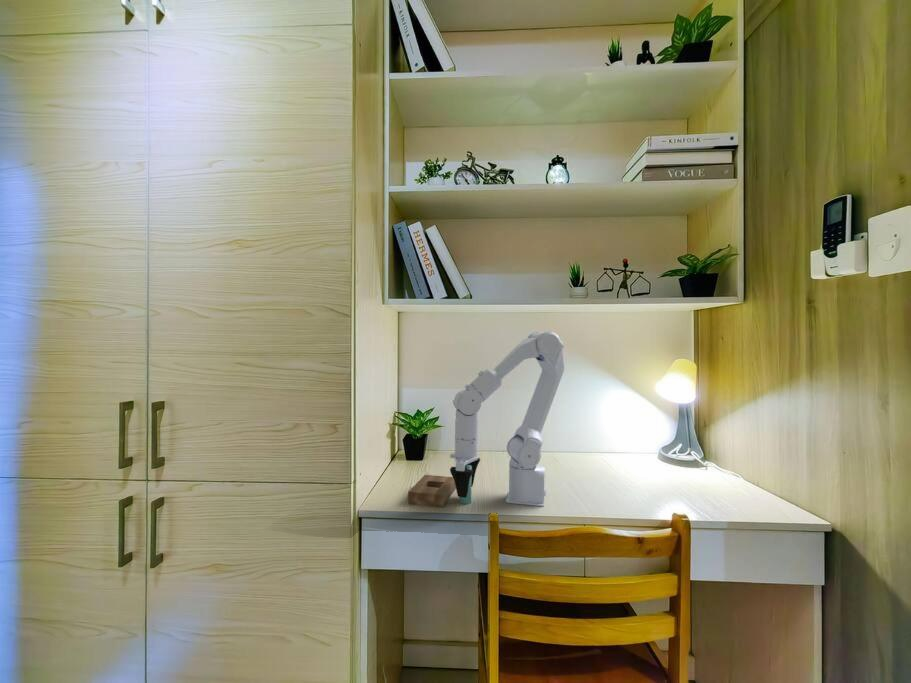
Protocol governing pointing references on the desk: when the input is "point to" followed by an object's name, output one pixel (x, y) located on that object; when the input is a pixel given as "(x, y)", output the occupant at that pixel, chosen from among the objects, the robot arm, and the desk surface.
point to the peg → (468, 498)
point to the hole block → (432, 491)
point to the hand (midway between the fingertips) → (465, 491)
